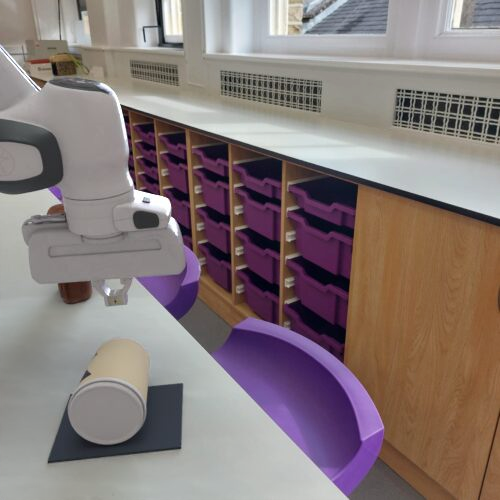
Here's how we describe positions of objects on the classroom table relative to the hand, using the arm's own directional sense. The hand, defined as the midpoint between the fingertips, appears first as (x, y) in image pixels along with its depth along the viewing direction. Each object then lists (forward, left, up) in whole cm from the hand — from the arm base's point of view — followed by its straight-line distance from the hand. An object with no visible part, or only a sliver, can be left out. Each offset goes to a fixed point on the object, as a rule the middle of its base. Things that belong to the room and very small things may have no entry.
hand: (117, 303), depth 68 cm
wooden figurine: (-14, +28, -13) cm, 34 cm away
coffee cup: (0, -2, -8) cm, 8 cm away
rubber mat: (0, -10, -12) cm, 16 cm away
